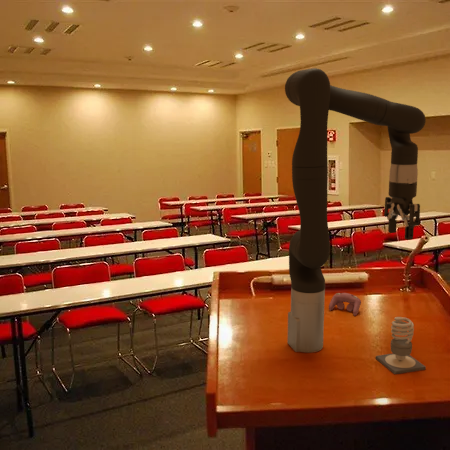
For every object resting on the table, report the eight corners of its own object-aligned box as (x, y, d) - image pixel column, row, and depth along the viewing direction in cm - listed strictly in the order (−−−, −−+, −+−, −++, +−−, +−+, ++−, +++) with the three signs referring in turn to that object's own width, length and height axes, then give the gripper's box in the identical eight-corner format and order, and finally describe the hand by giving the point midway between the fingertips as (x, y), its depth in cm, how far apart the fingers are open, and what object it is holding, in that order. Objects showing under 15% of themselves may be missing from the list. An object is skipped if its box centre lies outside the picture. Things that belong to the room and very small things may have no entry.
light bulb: (415, 360, 140) (418, 317, 138) (405, 367, 136) (408, 323, 134) (395, 353, 144) (397, 311, 141) (385, 360, 140) (387, 317, 137)
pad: (394, 374, 135) (394, 371, 135) (375, 358, 143) (375, 355, 143) (425, 369, 137) (425, 366, 137) (405, 354, 146) (405, 351, 145)
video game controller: (359, 317, 175) (363, 296, 177) (356, 315, 172) (360, 294, 173) (331, 311, 180) (335, 291, 182) (326, 310, 177) (330, 289, 178)
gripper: (377, 177, 156) (375, 231, 159) (405, 184, 142) (402, 242, 146) (400, 176, 158) (398, 229, 161) (430, 182, 144) (426, 240, 148)
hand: (400, 235), depth 154 cm, fingers open, 8 cm apart
